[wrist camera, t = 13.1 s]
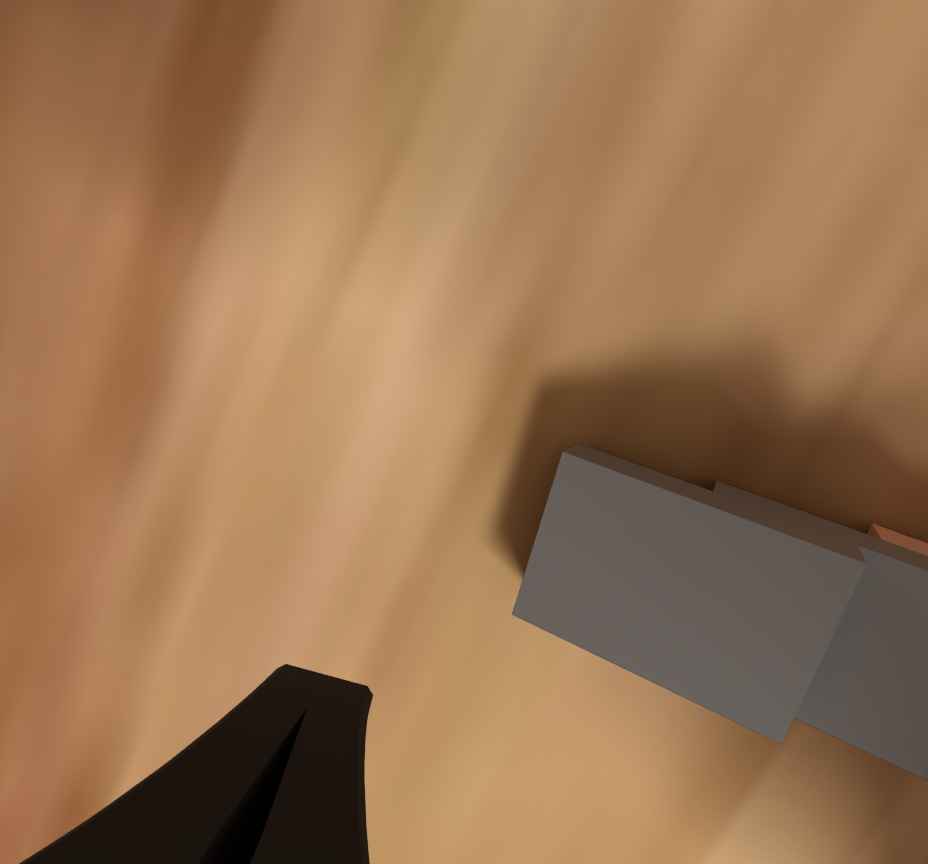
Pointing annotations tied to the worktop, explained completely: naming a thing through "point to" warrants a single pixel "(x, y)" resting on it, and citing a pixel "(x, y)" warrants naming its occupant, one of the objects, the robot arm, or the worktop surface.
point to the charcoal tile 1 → (687, 587)
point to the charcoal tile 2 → (871, 650)
